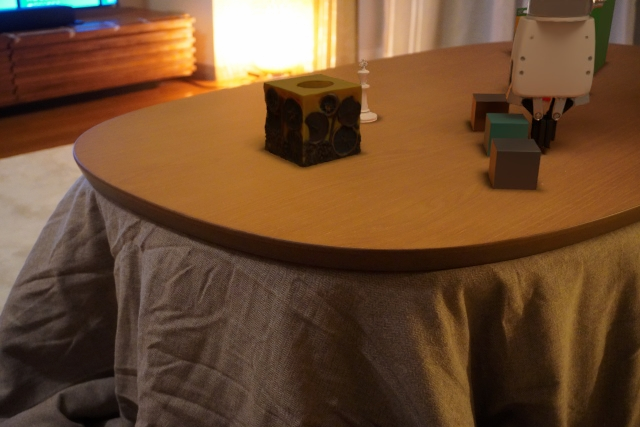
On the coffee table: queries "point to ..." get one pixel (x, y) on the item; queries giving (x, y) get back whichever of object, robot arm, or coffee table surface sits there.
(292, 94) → the candle
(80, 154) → the coffee table surface
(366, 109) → the chess piece
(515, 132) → the teal block
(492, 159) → the slate block
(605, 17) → the hardback book
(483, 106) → the walnut block
